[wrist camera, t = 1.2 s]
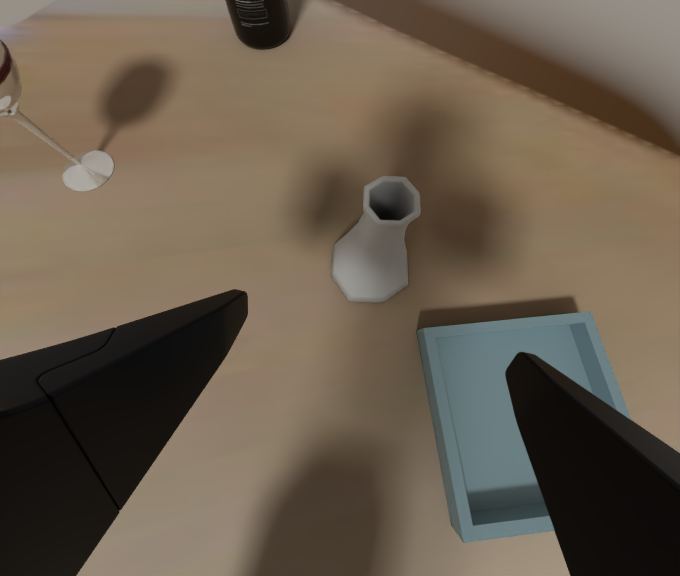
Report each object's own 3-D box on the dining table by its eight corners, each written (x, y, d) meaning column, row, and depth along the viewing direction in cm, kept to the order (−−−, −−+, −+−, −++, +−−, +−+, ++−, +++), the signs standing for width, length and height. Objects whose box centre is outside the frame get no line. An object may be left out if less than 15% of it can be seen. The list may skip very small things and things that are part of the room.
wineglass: (50, 154, 26) (-175, -7, 15) (117, 135, 27) (-46, -32, 16) (56, 208, 25) (-193, 72, 13) (128, 186, 25) (-48, 40, 14)
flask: (393, 222, 25) (430, 133, 15) (420, 292, 23) (482, 242, 13) (320, 241, 24) (310, 160, 14) (342, 314, 22) (345, 278, 12)
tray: (636, 501, 18) (667, 515, 17) (451, 525, 18) (463, 542, 16) (570, 315, 22) (590, 311, 20) (416, 330, 22) (423, 328, 20)
